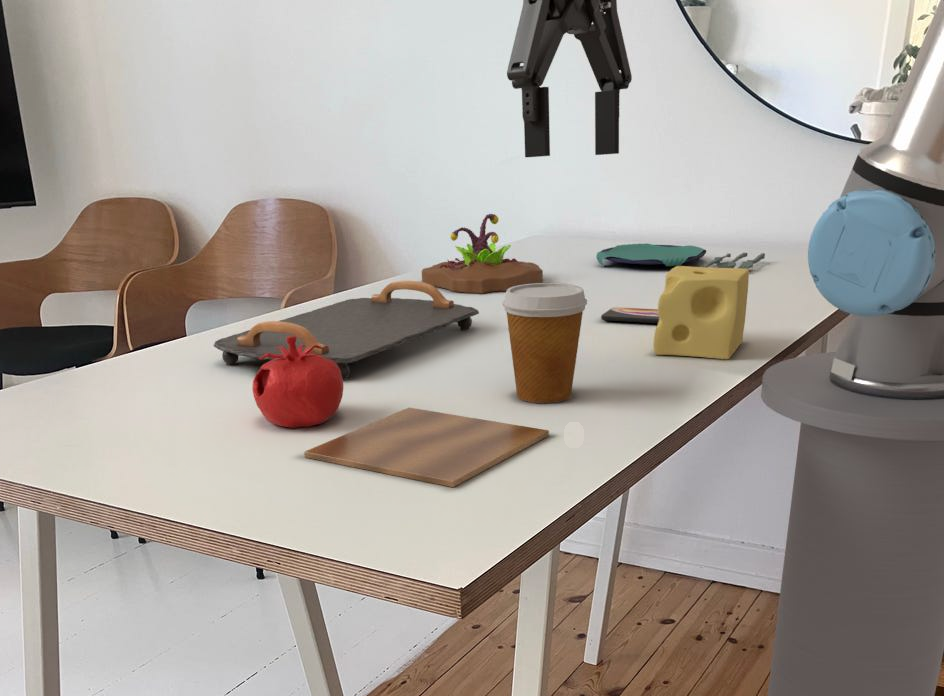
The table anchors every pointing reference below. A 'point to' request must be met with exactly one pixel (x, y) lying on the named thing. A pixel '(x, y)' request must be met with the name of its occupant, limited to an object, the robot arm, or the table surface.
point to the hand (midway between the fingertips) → (573, 155)
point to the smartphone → (631, 315)
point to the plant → (481, 266)
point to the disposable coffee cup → (544, 338)
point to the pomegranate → (298, 387)
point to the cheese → (702, 312)
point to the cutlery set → (667, 255)
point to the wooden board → (428, 446)
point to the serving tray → (352, 327)
